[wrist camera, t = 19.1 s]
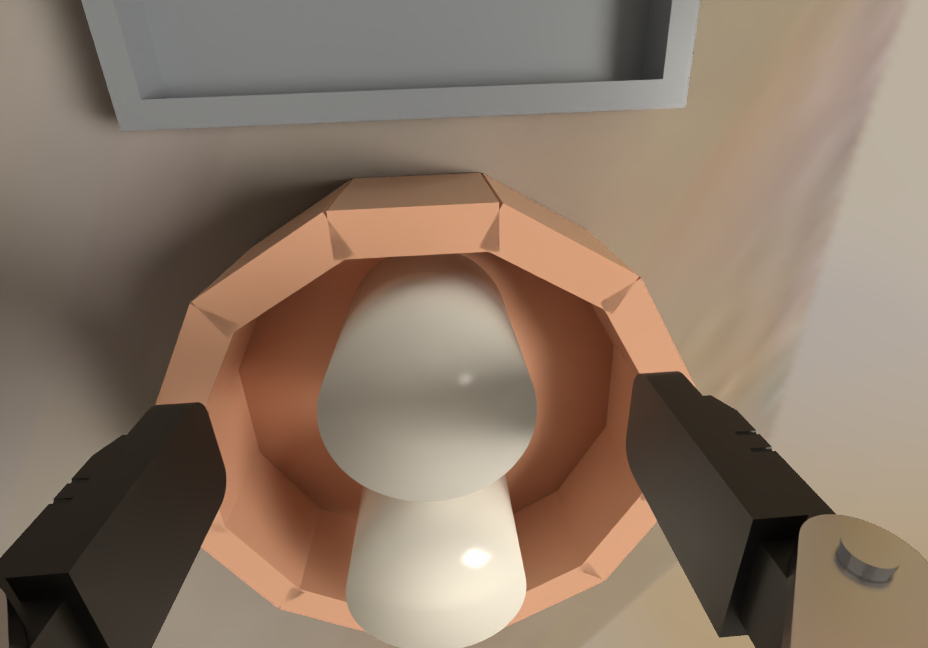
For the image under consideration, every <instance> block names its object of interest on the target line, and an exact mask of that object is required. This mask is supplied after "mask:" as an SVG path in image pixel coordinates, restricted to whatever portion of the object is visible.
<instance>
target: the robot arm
mask: <svg viewBox="0 0 928 648" xmlns="http://www.w3.org/2000/svg"><path fill="white" fill-rule="evenodd" d="M626 454H627V460H628V464H629V467H630V470H631V472H632V474H633V476H634V478H635V480H636V482H637V484H638V486H639V487H640V489H641V491H642V493H643V495H644V497H645V499H646V501H647V503H648V504H649V506H650V508H651V510H652V512H653V514H654V516H655V518H656V519H657V521H658V523H659V525H660V527H661V529H662V531H663V533H664V535H665V536H666V538H667V540H668V542H669V544H670V546H671V548H672V550H673V551H674V553H675V555H676V557H677V559H678V561H679V563H680V565H681V566H682V568H683V570H684V572H685V574H686V576H687V578H688V580H689V582H690V583H691V585H692V587H693V589H694V591H695V593H696V595H697V597H698V599H699V600H700V602H701V604H702V606H703V608H704V610H705V612H706V613H707V615H708V617H709V619H710V621H711V623H712V625H713V627H714V629H715V631H716V632H717V634H718V636H719V637H729V636H741V635H748V636H749V637H750V639H751V641H752V642H753V644H754V646H755V648H928V561H927V560H926V559H925V558H924V557H923V556H922V555H921V554H920V553H919V552H918V551H917V550H916V549H914V548H913V547H912V546H911V545H910V544H908V543H907V542H906V541H904V540H903V539H901V538H900V537H898V536H896V535H895V534H893V533H891V532H889V531H888V530H886V529H884V528H882V527H879V526H877V525H875V524H872V523H870V522H867V521H864V520H861V519H858V518H854V517H850V516H845V515H836V514H835V513H834V512H833V511H832V509H830V507H829V506H828V505H827V504H826V503H825V502H824V501H823V500H822V499H821V498H820V497H819V496H818V495H817V494H816V493H815V492H814V491H813V490H812V489H811V487H809V485H808V484H807V483H806V482H805V481H804V480H803V479H802V478H801V477H800V476H799V475H798V474H797V473H796V472H795V471H794V470H793V469H792V468H791V467H790V466H789V465H788V463H787V462H786V461H785V460H784V459H783V458H782V457H781V456H780V455H779V454H778V453H777V452H776V451H772V448H771V446H770V445H769V444H768V443H767V441H766V440H765V439H764V438H763V437H762V436H761V435H760V434H756V430H755V429H754V428H753V427H752V426H751V425H750V424H749V423H748V422H747V421H746V420H745V418H744V417H743V416H742V415H741V414H740V413H739V412H738V411H737V410H735V409H733V408H731V407H730V406H728V405H726V404H725V403H723V402H721V401H719V400H718V399H716V398H714V397H713V396H711V395H709V396H702V395H701V393H700V392H699V391H698V390H697V389H696V388H695V387H694V386H693V384H692V383H691V382H690V381H689V380H688V379H687V378H686V377H685V375H684V374H683V373H681V372H679V371H670V372H655V373H640V374H638V375H636V377H635V379H634V382H633V387H632V395H631V403H630V411H629V419H628V426H627V434H626ZM225 491H226V469H225V465H224V462H223V459H222V456H221V452H220V449H219V446H218V443H217V439H216V436H215V433H214V430H213V426H212V423H211V420H210V417H209V414H208V411H207V409H206V407H205V406H204V405H203V404H202V403H200V402H192V403H178V404H163V405H155V406H153V407H151V408H150V409H149V410H148V411H147V412H146V413H145V415H144V416H143V417H142V418H141V419H140V421H139V422H138V423H137V424H136V425H135V426H134V428H133V429H132V430H131V431H130V432H129V433H128V435H122V436H120V437H119V438H117V439H116V440H115V441H113V442H112V443H110V444H109V445H107V446H106V447H104V448H103V449H101V450H100V451H99V452H97V453H96V454H94V455H93V456H92V457H91V458H90V459H89V460H88V461H87V462H86V463H85V465H84V466H83V467H82V468H81V469H80V470H79V471H78V472H77V473H76V475H75V476H74V477H73V478H72V482H71V483H70V484H67V485H66V486H65V487H64V488H63V489H62V490H61V491H60V492H59V493H58V495H57V496H56V497H55V498H54V503H53V504H49V505H48V506H47V507H46V508H45V509H44V510H43V511H42V512H41V513H40V515H39V516H38V517H37V518H36V519H35V520H34V521H33V522H32V523H31V525H30V526H29V527H28V528H27V529H26V530H25V531H24V532H23V533H22V535H21V536H20V537H19V538H18V539H17V540H16V541H15V542H14V543H13V545H12V546H11V547H10V548H9V549H8V550H7V551H6V552H5V553H4V554H3V556H2V557H1V558H0V648H152V646H153V644H154V642H155V640H156V638H157V636H158V634H159V632H160V630H161V627H162V625H163V623H164V621H165V619H166V617H167V615H168V613H169V611H170V609H171V607H172V605H173V603H174V601H175V599H176V597H177V595H178V593H179V591H180V589H181V586H182V584H183V582H184V580H185V578H186V576H187V574H188V572H189V570H190V568H191V566H192V564H193V562H194V560H195V558H196V556H197V554H198V552H199V550H200V548H201V545H202V543H203V541H204V539H205V537H206V535H207V533H208V531H209V529H210V527H211V525H212V523H213V521H214V519H215V517H216V515H217V513H218V511H219V509H220V507H221V504H222V502H223V499H224V496H225Z"/></svg>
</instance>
